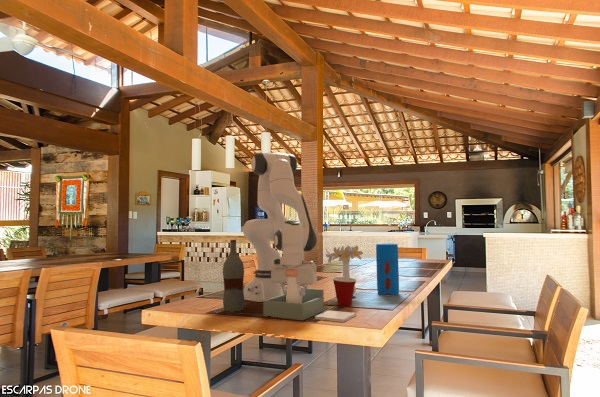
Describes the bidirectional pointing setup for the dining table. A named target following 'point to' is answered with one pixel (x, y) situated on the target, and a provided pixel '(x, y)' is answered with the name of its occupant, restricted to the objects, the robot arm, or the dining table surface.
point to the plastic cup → (344, 290)
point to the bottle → (233, 281)
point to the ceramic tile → (335, 316)
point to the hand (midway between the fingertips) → (294, 294)
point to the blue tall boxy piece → (387, 269)
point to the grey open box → (295, 306)
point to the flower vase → (345, 258)
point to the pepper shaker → (293, 287)
